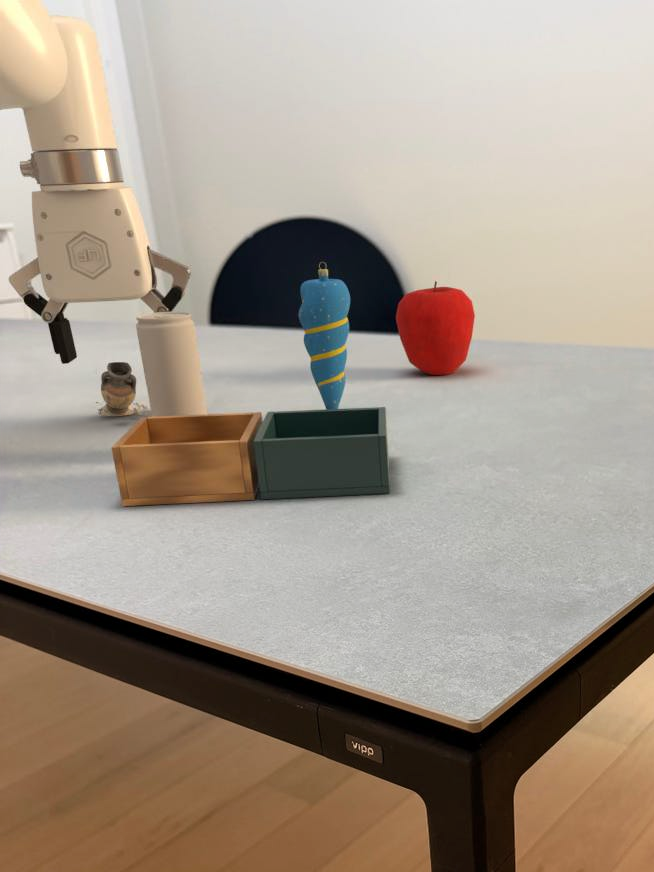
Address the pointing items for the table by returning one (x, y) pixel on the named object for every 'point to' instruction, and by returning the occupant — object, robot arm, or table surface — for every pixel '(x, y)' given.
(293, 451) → the can bin
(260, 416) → the bin
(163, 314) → the beverage can
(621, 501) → the table surface
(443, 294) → the apple
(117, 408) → the vase
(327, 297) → the ornament
